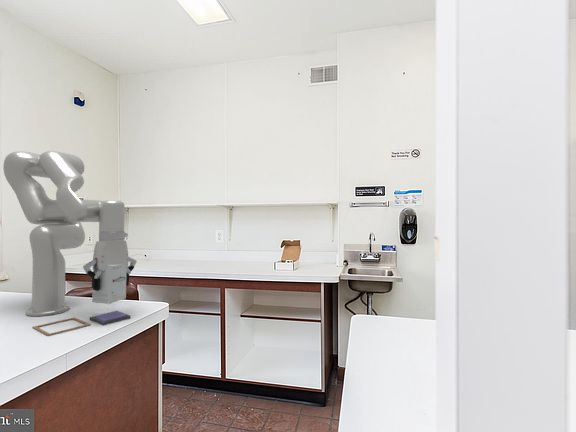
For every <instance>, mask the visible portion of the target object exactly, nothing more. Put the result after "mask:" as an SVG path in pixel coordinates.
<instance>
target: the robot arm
mask: <svg viewBox="0 0 576 432" xmlns="http://www.w3.org/2000/svg"><path fill="white" fill-rule="evenodd" d="M2 166H3V174H4V177H5V180H6V181H7V183H8V184H9V186H10V188H11V189H12V190H13V193H14V194H15V195H16V199H17V200H18V203H19V205H20V208H21V211H22V212H23V214H24V217H25V219H26V220H27V221H28V222H29V223H31V224H33V225H38V226H35V227H34V228H33V229H32V230H31V231H30V233H29V243H30V248H31V255H32V276H31V278H32V281H31V282H32V285H31V286H32V288H31V291H32V292H31V307H30V308H28V309H27V310H26V311H25V315H27V316H30V317H44V316H51V315H58V314H60V313H61V314H62V313H64V312H66V311H69V310H70V306H71V305H69V304H67V303H65V301H66V299H65V297H66V259H65V257H64V255H63V253H62V252H61V250H68V249H76V248H80V247H81V246H82V245H83V244H84V243H85V239H86V235H85V230H84V227H83V225H82V223H98V225H99V226H98V240H97V241H95V245H94V250H93V257H92V260H91V261H89V262H88V263H85V264H84V265H82V268H83V270H84V271H85V273H86V275H87V276H89V277H90V278H91V287H92V291H93V290H96V291H99V290H100V278H98V277H99V276H100V274H101V273H102V272H104V271H105V269H106V266H107V265H113V264H124V267H125V268H127V275H126V287H127V286H129V283H130V274H131V273H132V271H133V270H134V269H135V266H136V264H137V260H136V259H134V258H132V257H130V256H129V249H128V244H127V240H125V239H126V238H127V237H128V236H129V234H128V232H126V231H125V210H126V207H125V203H124V202H123V201H121V200H95V199H82V198H81V199H80V198H79V196H77V194H76V192H78V191H79V190H80V189H82V187H83V186H84V183H85V179H84V176H82V175H83V174H84V172H85V164H84V161H83V160H82V158H80V157H79V156H77V155H74V154H70V153H65V152H61V151H55V150H54V151H53V150H50V151H49V150H47V151H44V152H43V153H42V152H41V154H38V153H33V152H27V151H14V152H11V153H9V154H7V155H6V156H5V157H4V161H3V165H2ZM33 177H38V178H39V177H40V178H44V179H45V178H46V179H50V181H52V183H53V184H54V186H56V188H57V189H56V192H55V199H51V198H49V196H48V195H47V193H46V190H45V188H44V187H43V186H42V184H41V183H39V181H37V180H36V179H35V178H33ZM95 265H97V267H98V269H97V268H96V269H95V270H94V267H95ZM91 268H92V270H91ZM93 270H94V272H93Z"/></svg>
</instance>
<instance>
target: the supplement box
mask: <svg viewBox="0 0 576 432" xmlns="http://www.w3.org/2000/svg"><path fill="white" fill-rule="evenodd" d="M96 268H97V269H98V267H97V265H95V267H94V270H95V269H96ZM94 270H93V269H92V272H94ZM126 275H127V268H125V267H124V264H113V265H107V266H106V269H105V271H104V272H102V273H101V274H100V276H99V277H98V278H100V290H99V291H96V290H93V289H92V292H91V293H92V294H91V295H92V298H91V299H92V303H96V304H107V305H110V304H113V303H116V302H119V301H122V300H125V299H126V298H127V286H126Z"/></svg>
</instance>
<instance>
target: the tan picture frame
mask: <svg viewBox="0 0 576 432" xmlns="http://www.w3.org/2000/svg"><path fill="white" fill-rule="evenodd" d="M69 321H75V322H78V323H80V324H82V325H79V326H75V327H71V328H67V329H62V330H59V331H55V332H51V333H50V332H47V331H46V330H43V329H42V327H46V326H51V325H55V324H60V323H64V322H69ZM89 326H92V324H91V323H89V322H87V321H84V320H82V319H79V318H76V317H74V316H73V317H70V318H66V319H61V320H57V321H51V322H49V323H43V324H38V325H35V326H32V327H31V328H32V329H34V330H35V331H37V332H39V334H40V333H41V334H42V335H44V336H46V337H50V336H55V335H58V334H62V333H66V332H70V331H73V330H79V329H81V328H85V327H89Z"/></svg>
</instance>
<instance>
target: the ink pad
mask: <svg viewBox="0 0 576 432" xmlns="http://www.w3.org/2000/svg"><path fill="white" fill-rule="evenodd" d="M130 319H131V314H128V313H124V312H122V311H119V310H115V311H110V312H105V313H102V314H97V315H92V316H89V321H91V322H94V323H96V324H99V325H100V326H106V325H110V324H113V323H117V322H122V321H125V320H130Z"/></svg>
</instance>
